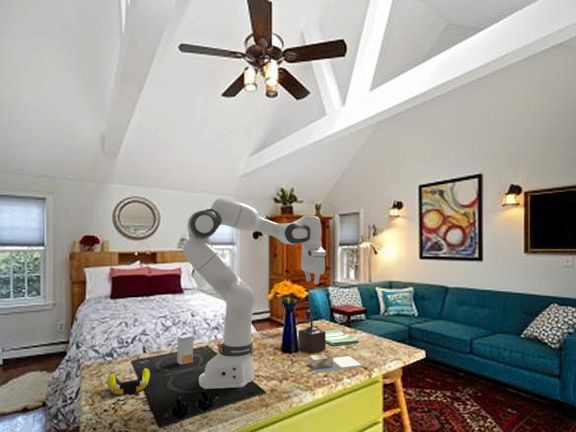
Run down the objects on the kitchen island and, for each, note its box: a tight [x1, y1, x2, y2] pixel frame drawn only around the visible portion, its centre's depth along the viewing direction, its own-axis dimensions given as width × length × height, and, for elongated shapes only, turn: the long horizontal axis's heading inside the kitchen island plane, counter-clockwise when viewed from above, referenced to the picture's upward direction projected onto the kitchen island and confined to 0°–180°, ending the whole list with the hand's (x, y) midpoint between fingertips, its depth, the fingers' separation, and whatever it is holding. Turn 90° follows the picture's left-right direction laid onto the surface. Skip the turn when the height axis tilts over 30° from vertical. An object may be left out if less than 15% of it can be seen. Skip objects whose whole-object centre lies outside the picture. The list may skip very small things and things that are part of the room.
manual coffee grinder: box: [297, 309, 327, 354], centre depth 182 cm, size 16×11×18 cm
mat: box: [303, 354, 366, 374], centre depth 159 cm, size 23×16×1 cm
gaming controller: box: [107, 368, 151, 395], centre depth 134 cm, size 15×6×10 cm
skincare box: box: [176, 333, 194, 366], centre depth 162 cm, size 6×4×12 cm
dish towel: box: [324, 328, 360, 346], centre depth 198 cm, size 18×23×3 cm
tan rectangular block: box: [309, 352, 333, 368], centre depth 157 cm, size 9×6×4 cm, turn 108°
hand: (312, 282), depth 156 cm, fingers open, 8 cm apart
